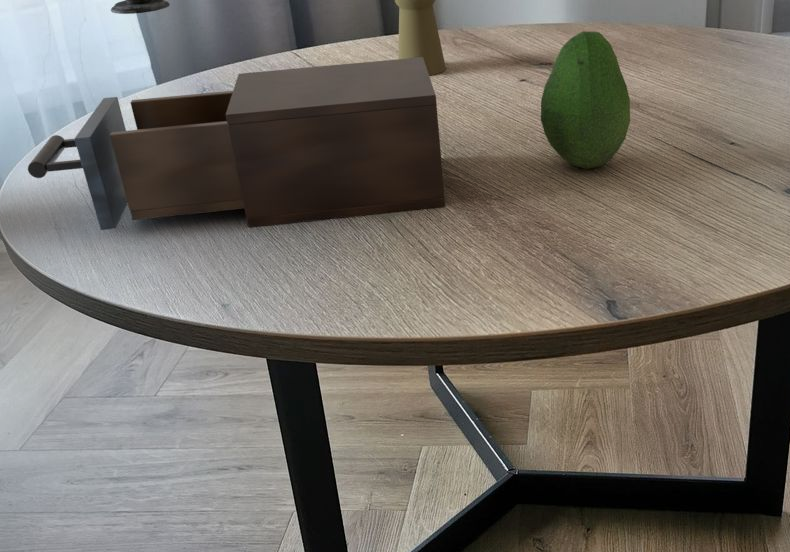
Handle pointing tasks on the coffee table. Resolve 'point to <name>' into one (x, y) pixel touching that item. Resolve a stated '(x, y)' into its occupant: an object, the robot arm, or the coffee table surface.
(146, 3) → the salt shaker
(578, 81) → the fruit
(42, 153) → the drawer
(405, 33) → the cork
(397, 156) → the cabinet
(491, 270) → the coffee table surface
